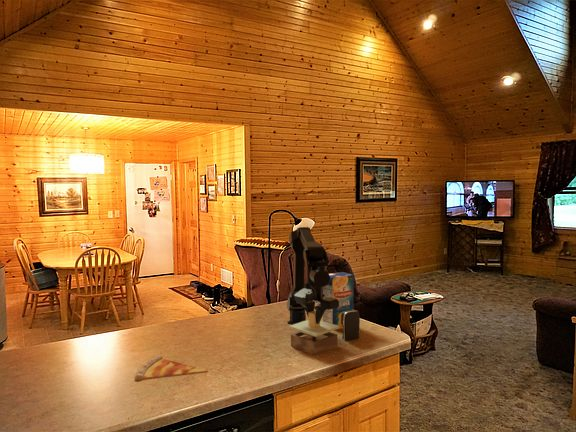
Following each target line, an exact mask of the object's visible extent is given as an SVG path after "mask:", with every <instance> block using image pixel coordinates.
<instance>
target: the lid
mask: <svg viewBox="0 0 576 432" xmlns="http://www.w3.org/2000/svg"><path fill="white" fill-rule="evenodd" d="M307 318H308V319H306V321H303V322H300V323H297V324H290V325H288V328H289V329H291V330H293V331H296V332H302V333H305V334H308V335H311V336H314V337H317V336H320V335H322V334H325V333H328V332H333V331H336V330H338V329H340V328H339V326H338V325H334V324H331V323H328V322H324V321H323V320H322V319H321V320H320V322H319V324H316V310H314V311H312V312H309V315H307Z"/></svg>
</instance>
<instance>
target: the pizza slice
mask: <svg viewBox="0 0 576 432" xmlns="http://www.w3.org/2000/svg"><path fill="white" fill-rule="evenodd" d="M208 372H209V370H207V369H203V368H200V367H196V366H193V365H188V364H184V363H180V362H178V361H174V360H170V359H166V358H164V357H163V356H162V355H161V354H157V355H155V356H154V357H151V358H150V359H148V360H147V361H146V362H145V363H144V362H143V364H142V365H141V366H140V367H139V368H138V369H137V370H136V373H135V375H134V380H135V381H139V380H147V379H148V380H149V379H156V378H158V379H159V378H165V377H174V376H182V375H191V374H192V375H193V374H199V373H200V374H201V373H208Z"/></svg>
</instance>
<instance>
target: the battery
mask: <svg viewBox="0 0 576 432" xmlns="http://www.w3.org/2000/svg"><path fill="white" fill-rule="evenodd" d="M360 316H361V315H360V312H359V311H358V310H356V309H353V310H347V311H343V312H342V314H341V324H342V325H343V329H342V337H341V340H342V341H345V342H348V341H353V340H354V341H355V340H358V339H360V325H361V324H360V323H361V322H360V321H361V317H360Z"/></svg>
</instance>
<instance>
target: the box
mask: <svg viewBox="0 0 576 432" xmlns="http://www.w3.org/2000/svg"><path fill="white" fill-rule="evenodd" d="M303 335H308V334H305V333H302V332H299V331H296V332H294V333H290V347H292V348H295V349H297V350H300V351H302V352H305V353H308V354H311V355H313V356H317V355H320V354H322V353H325V352H327V351H330V350H332V349H334V348H337V347H338V334H336V333H334V332H332V331H330V332H328V333H325V334H322V335H325V336H328V337H326V338H324V339H321V340H319V341H316V337H314V336H311V335H308V336H311V337H312V340H309V339H306V338H303V337H300V336H303Z"/></svg>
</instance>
